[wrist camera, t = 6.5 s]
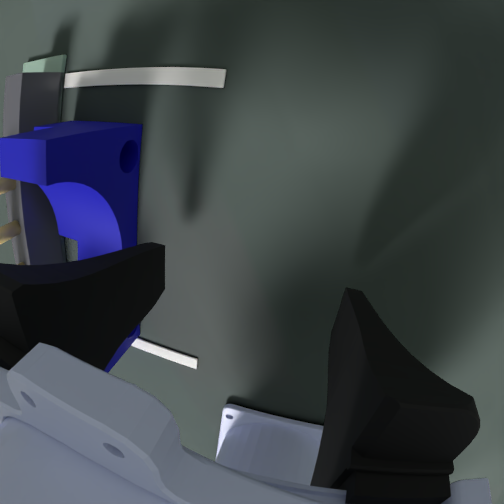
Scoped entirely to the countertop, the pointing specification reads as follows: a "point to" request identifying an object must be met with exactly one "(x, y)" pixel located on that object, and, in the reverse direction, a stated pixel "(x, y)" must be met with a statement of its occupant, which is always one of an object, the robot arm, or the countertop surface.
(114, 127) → the blue mounting bracket
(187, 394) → the countertop surface
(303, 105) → the countertop surface
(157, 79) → the lane marks
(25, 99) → the header strip
